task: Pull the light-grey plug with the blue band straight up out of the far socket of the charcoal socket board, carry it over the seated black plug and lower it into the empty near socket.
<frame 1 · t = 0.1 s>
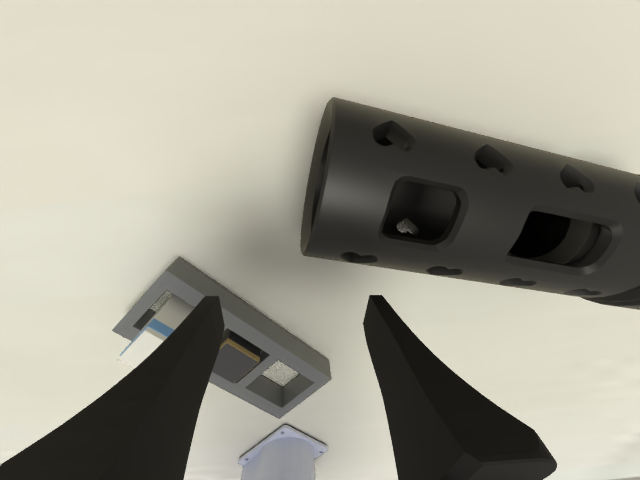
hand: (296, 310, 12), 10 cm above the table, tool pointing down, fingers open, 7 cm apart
grey plug: (187, 306, 24), resting in socket board
socket board: (237, 338, 26), on the table
muzzle brake: (462, 200, 22), on the table
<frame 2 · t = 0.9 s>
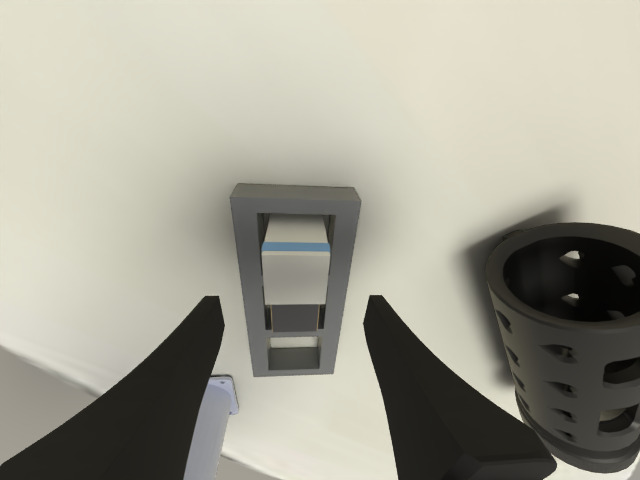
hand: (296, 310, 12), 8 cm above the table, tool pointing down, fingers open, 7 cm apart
grey plug: (296, 229, 19), resting in socket board
socket board: (295, 288, 22), on the table
muzzle brake: (521, 319, 28), on the table
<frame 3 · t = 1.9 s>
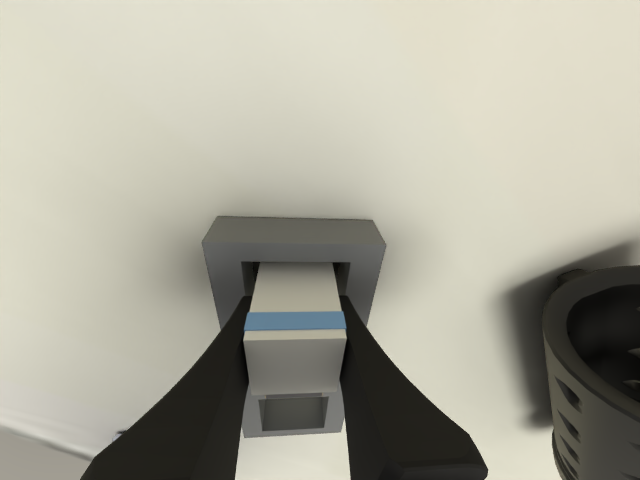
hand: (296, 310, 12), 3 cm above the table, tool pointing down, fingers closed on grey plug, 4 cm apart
grey plug: (296, 271, 15), resting in socket board, touching gripper
socket board: (295, 337, 18), on the table
muzzle brake: (564, 362, 23), on the table
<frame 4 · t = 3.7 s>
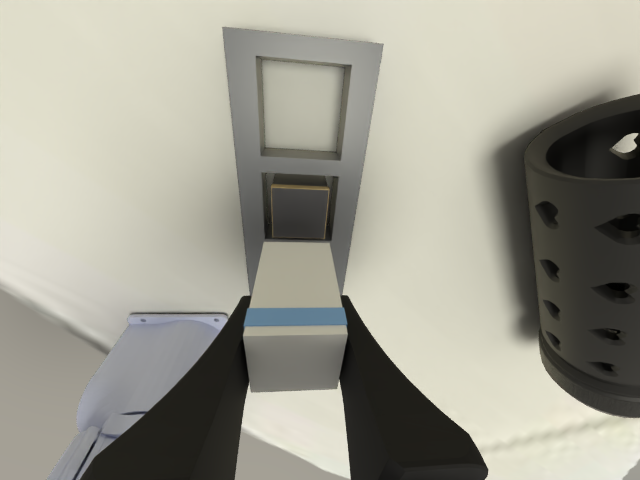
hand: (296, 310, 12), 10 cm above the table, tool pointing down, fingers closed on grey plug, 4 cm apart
grey plug: (296, 268, 15), point 7 cm above the table, touching gripper
socket board: (299, 196, 19), on the table
muzzle brake: (549, 252, 25), on the table
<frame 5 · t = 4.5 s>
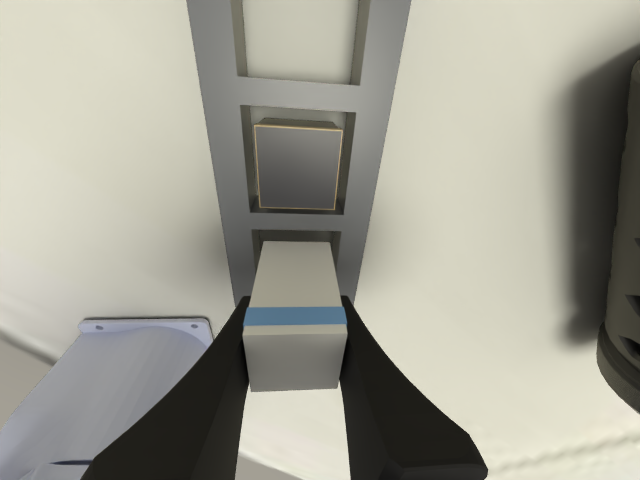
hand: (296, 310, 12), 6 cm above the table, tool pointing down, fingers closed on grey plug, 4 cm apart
grey plug: (296, 267, 15), point 3 cm above the table, touching gripper
socket board: (298, 155, 14), on the table
muzzle brake: (619, 235, 19), on the table
when the fingers open (4 cm above the table, at t = 5.3 s): grey plug stays where it is, resting in socket board.
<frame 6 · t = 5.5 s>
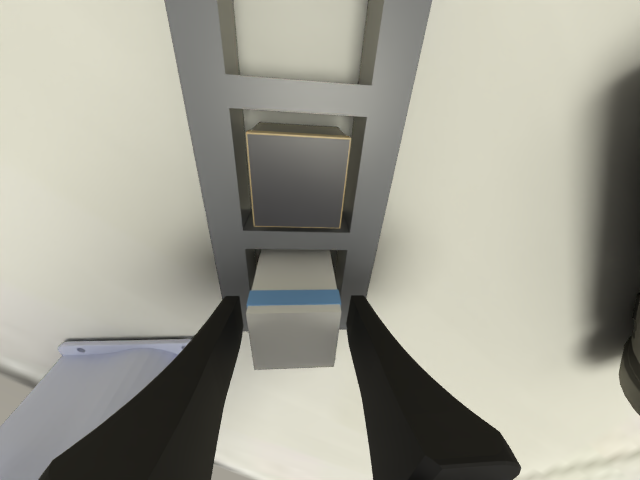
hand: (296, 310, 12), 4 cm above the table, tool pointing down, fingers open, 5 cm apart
grey plug: (296, 258, 15), resting in socket board
socket board: (298, 164, 12), on the table
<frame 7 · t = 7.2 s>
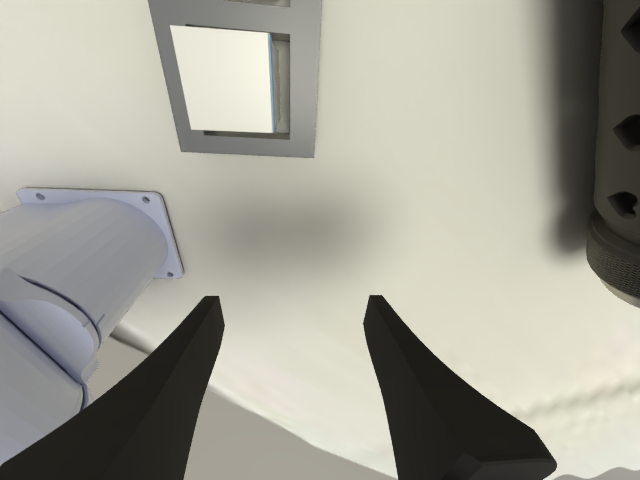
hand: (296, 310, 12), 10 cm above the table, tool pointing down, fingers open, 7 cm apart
grey plug: (250, 84, 15), resting in socket board
muzzle brake: (608, 98, 18), on the table
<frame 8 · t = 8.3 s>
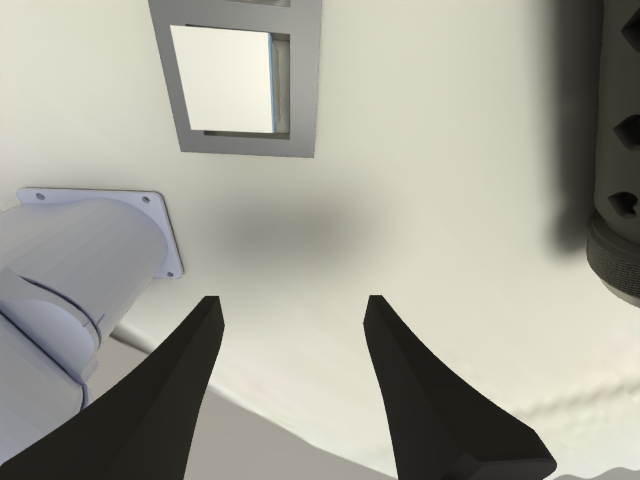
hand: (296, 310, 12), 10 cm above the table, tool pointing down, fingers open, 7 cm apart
grey plug: (250, 84, 15), resting in socket board
muzzle brake: (608, 98, 18), on the table
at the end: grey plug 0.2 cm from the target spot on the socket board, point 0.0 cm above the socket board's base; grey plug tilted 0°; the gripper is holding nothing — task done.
